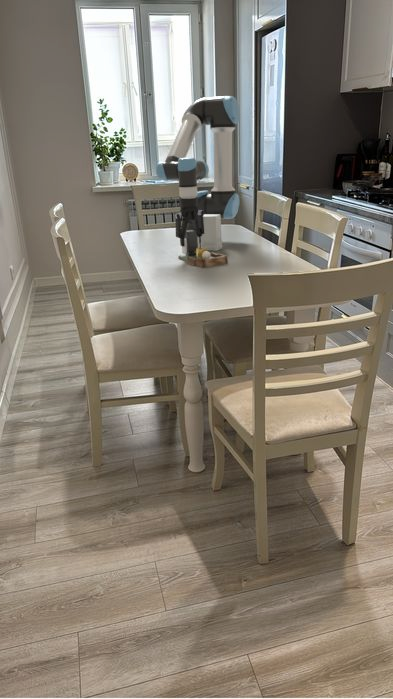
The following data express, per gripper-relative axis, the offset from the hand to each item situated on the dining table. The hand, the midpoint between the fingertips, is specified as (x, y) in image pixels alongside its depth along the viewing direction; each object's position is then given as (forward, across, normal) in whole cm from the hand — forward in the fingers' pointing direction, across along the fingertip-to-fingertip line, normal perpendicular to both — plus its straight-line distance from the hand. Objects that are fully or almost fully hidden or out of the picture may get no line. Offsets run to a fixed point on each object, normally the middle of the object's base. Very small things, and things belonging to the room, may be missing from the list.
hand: (191, 252), depth 225 cm
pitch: (+2, 0, +8) cm, 8 cm away
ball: (-1, 0, +12) cm, 12 cm away
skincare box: (+3, -16, -8) cm, 18 cm away
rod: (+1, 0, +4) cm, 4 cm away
